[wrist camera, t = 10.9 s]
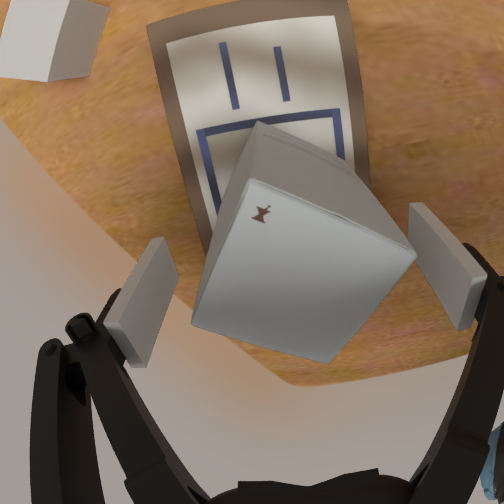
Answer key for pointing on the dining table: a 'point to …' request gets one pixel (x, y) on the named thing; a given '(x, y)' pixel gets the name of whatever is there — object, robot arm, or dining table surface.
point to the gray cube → (51, 39)
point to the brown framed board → (257, 87)
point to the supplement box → (297, 251)
